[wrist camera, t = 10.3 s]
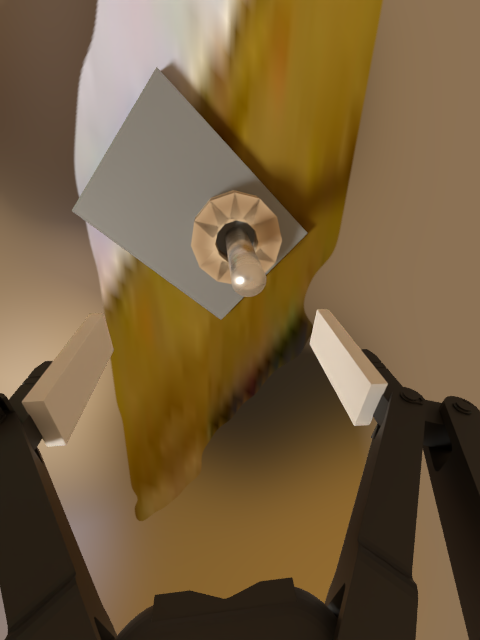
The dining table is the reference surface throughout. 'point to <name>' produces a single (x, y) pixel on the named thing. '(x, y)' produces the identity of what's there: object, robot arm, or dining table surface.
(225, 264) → the tan faceted ring
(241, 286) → the peg
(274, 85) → the dining table surface
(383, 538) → the robot arm
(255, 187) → the board
